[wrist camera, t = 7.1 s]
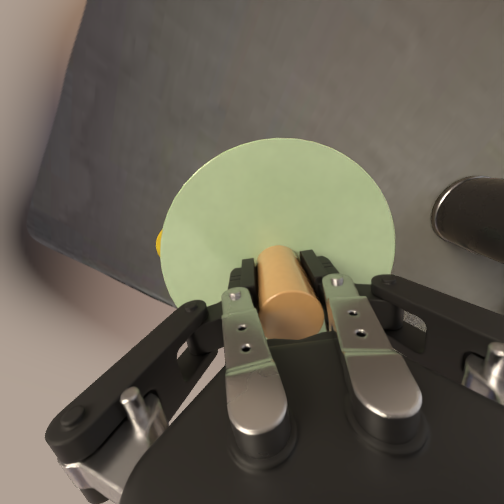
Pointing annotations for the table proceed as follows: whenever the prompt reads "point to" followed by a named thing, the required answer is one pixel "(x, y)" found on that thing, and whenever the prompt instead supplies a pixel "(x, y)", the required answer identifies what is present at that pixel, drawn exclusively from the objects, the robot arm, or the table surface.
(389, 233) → the lid
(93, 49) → the table surface
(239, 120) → the table surface
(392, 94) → the table surface
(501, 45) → the table surface
